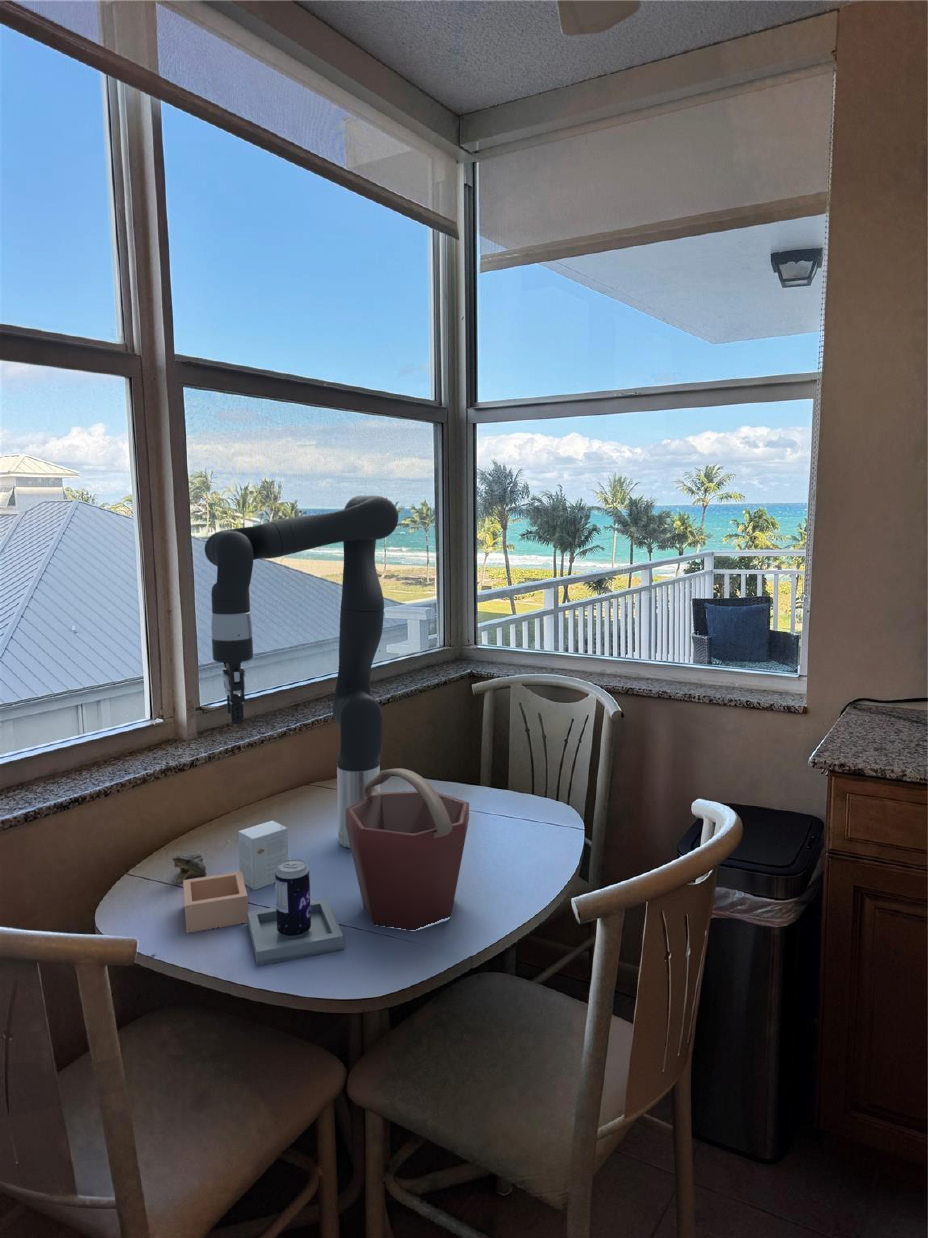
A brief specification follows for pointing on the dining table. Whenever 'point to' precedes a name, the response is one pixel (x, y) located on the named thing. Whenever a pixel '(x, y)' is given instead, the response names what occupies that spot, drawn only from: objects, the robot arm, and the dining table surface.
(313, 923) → the slate tray
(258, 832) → the small box
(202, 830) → the dining table surface
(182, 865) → the dinosaur head
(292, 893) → the beverage can
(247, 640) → the robot arm
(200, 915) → the peach open bin
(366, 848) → the bucket
